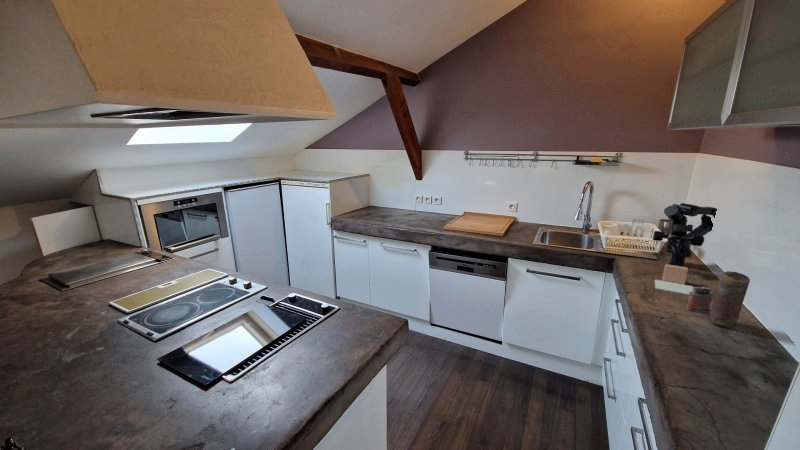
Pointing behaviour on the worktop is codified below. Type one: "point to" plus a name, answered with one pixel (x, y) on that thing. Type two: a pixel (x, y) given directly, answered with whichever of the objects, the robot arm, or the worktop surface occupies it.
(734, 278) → the rusty brown metal cylinder
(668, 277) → the block
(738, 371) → the worktop surface
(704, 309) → the lighter
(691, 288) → the mat
